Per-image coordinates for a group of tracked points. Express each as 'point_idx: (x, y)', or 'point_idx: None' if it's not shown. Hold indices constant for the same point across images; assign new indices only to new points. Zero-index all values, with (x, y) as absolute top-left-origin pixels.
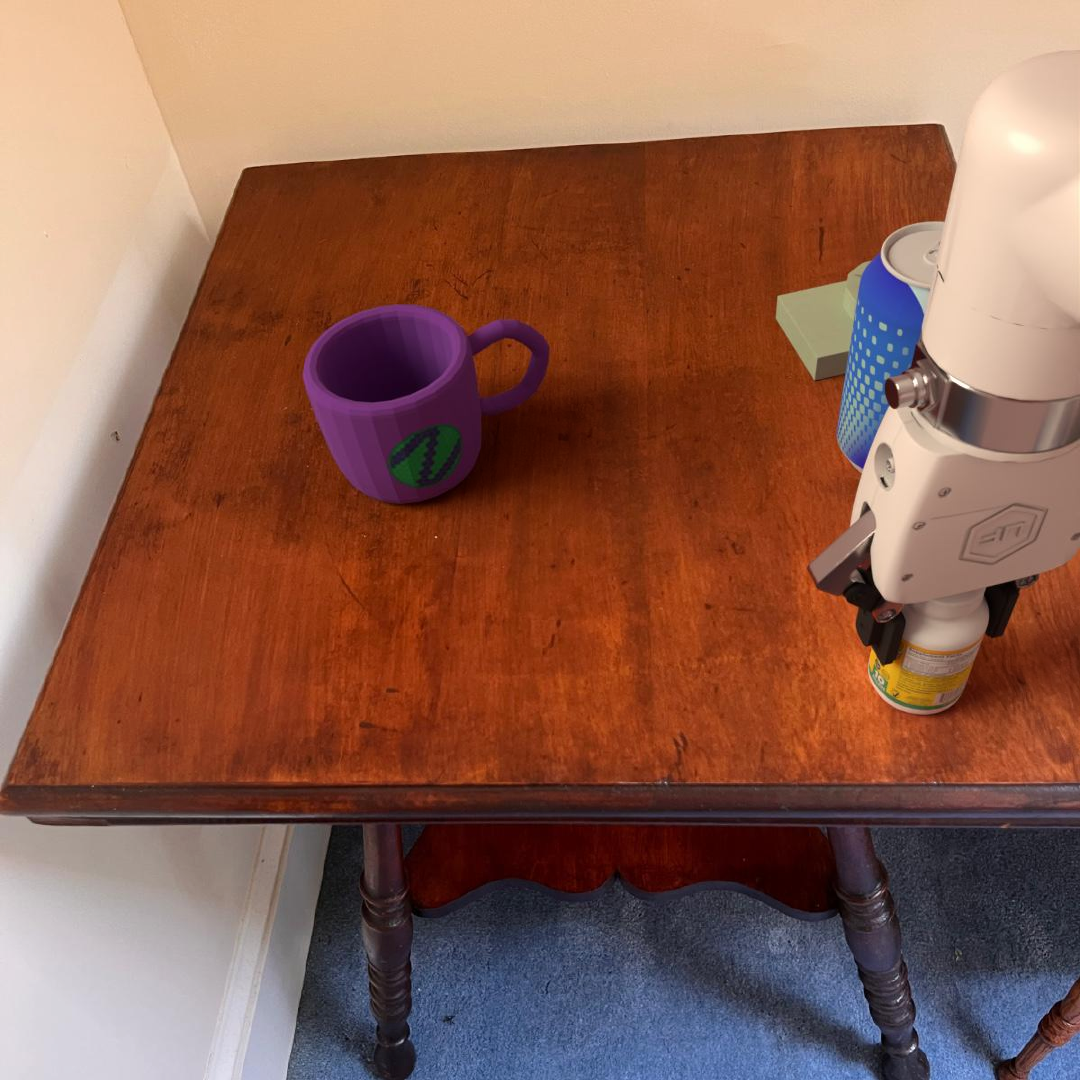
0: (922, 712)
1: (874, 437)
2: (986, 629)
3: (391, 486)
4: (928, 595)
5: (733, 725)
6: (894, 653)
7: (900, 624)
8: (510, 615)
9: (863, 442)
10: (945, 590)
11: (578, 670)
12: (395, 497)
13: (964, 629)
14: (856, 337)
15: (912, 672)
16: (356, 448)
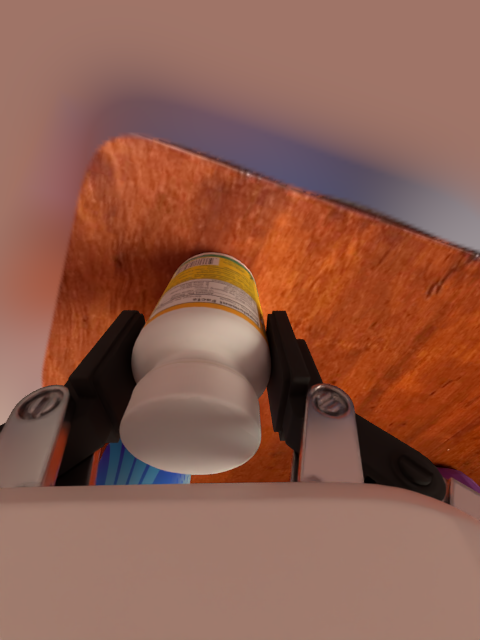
0: (227, 255)
1: (174, 482)
2: (141, 323)
3: (476, 490)
4: (373, 539)
5: (384, 291)
6: (279, 323)
7: (298, 374)
8: (454, 403)
9: (181, 474)
10: (312, 558)
11: (450, 361)
12: (464, 478)
13: (184, 336)
14: None
15: (248, 294)
16: None
